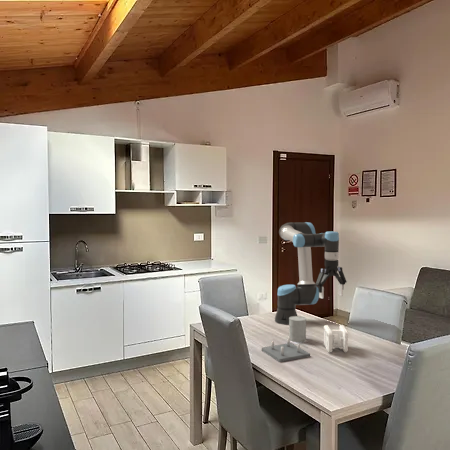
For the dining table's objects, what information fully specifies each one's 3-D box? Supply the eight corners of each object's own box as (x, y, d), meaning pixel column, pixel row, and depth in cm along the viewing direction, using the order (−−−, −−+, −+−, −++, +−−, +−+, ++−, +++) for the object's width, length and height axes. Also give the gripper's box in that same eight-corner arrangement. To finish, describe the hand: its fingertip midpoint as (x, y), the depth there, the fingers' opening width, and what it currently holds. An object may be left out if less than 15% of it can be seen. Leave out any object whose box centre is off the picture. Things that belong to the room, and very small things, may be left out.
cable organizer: (348, 354, 221) (348, 332, 220) (327, 354, 222) (327, 332, 221) (342, 345, 236) (342, 324, 235) (322, 344, 237) (322, 323, 236)
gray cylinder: (307, 342, 240) (307, 320, 240) (290, 342, 241) (290, 320, 240) (304, 336, 250) (304, 315, 249) (288, 336, 250) (288, 315, 249)
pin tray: (261, 350, 228) (261, 340, 228) (290, 345, 235) (290, 335, 235) (279, 362, 212) (279, 351, 211) (310, 356, 219) (310, 345, 219)
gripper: (317, 261, 232) (317, 300, 234) (353, 258, 243) (352, 295, 245) (309, 259, 239) (308, 297, 240) (344, 256, 250) (343, 293, 251)
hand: (330, 296), depth 243 cm, fingers open, 13 cm apart
